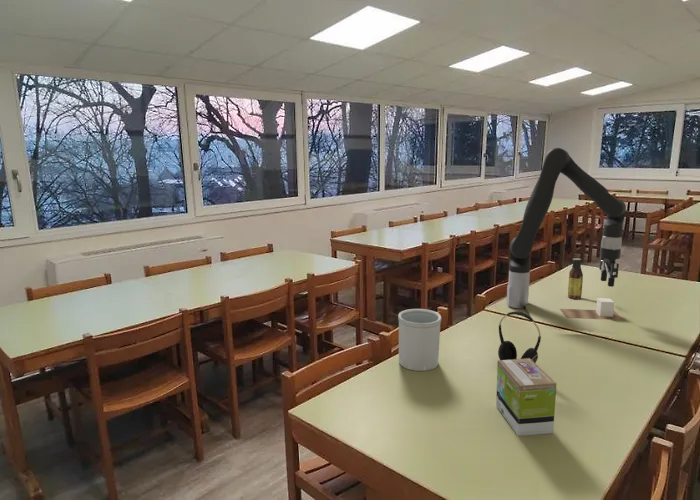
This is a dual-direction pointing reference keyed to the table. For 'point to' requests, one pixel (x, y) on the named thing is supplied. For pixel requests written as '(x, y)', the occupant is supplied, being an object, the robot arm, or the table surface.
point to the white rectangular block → (605, 307)
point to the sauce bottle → (575, 280)
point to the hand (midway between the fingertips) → (607, 283)
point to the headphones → (508, 348)
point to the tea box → (526, 396)
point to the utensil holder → (419, 339)
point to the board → (588, 314)
